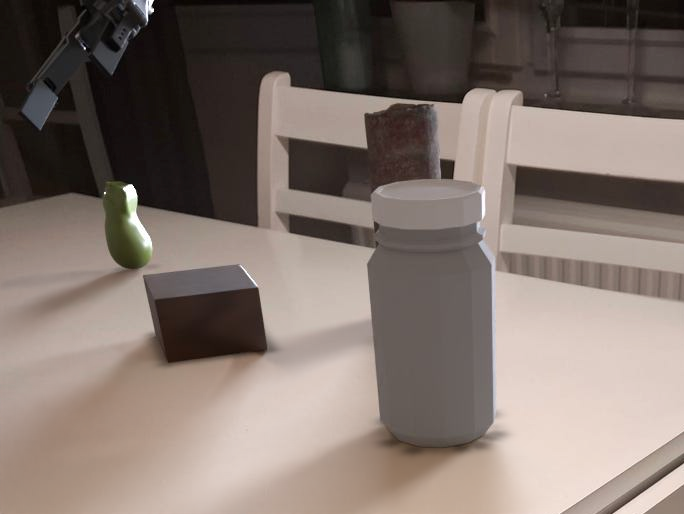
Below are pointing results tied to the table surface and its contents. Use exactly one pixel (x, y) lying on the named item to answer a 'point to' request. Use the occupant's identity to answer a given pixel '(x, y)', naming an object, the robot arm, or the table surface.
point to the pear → (125, 227)
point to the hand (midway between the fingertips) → (63, 95)
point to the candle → (402, 145)
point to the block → (205, 312)
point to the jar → (433, 312)
